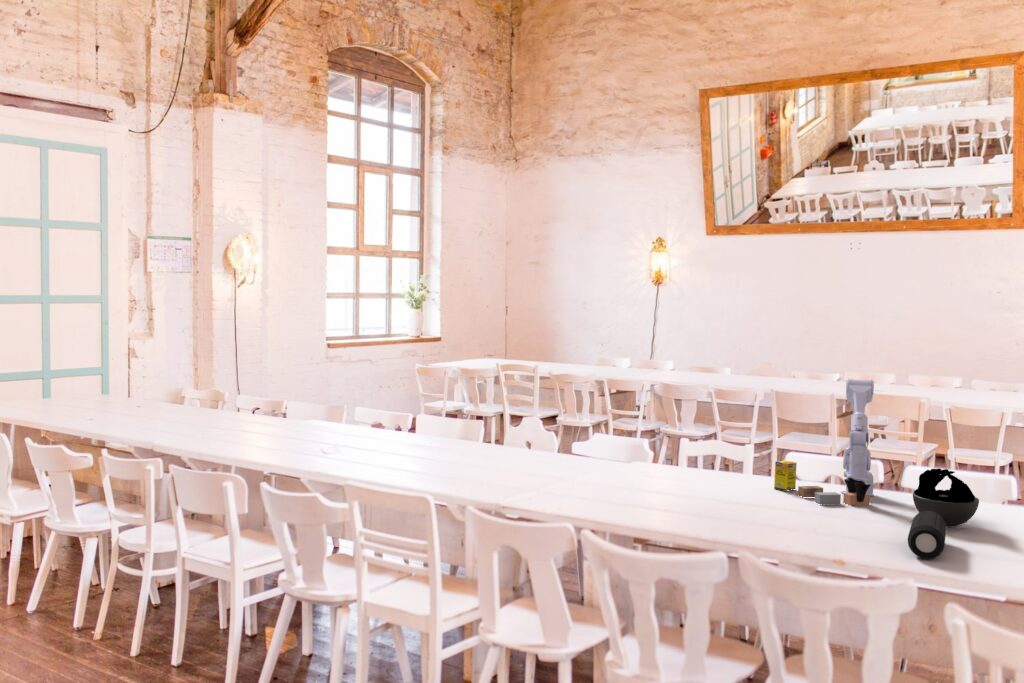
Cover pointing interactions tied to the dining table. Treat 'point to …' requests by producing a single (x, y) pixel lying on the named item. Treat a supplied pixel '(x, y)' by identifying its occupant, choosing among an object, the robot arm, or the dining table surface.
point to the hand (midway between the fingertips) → (856, 500)
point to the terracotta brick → (855, 499)
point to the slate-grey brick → (827, 498)
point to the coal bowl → (945, 497)
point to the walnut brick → (808, 490)
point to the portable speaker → (927, 535)
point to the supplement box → (785, 475)
